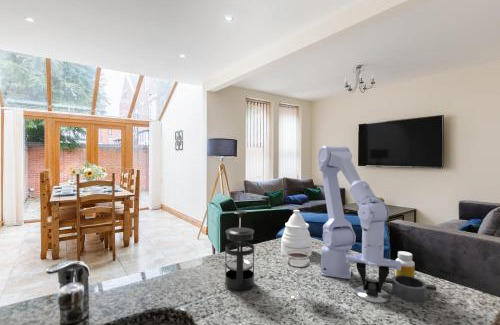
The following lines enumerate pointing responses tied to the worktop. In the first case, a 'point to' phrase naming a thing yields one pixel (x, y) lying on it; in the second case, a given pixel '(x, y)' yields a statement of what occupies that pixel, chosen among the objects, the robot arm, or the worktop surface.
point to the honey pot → (296, 235)
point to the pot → (409, 288)
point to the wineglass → (298, 268)
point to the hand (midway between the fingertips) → (371, 290)
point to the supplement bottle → (405, 264)
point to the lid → (372, 292)
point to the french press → (239, 258)
